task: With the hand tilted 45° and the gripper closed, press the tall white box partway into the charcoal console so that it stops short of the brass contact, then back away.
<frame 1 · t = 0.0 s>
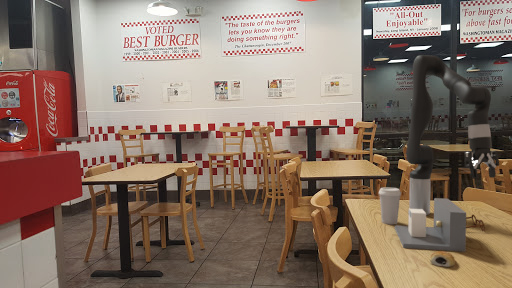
hand: (483, 178, 146), 22 cm above the table, tool pointing down, fingers open, 8 cm apart
glasses: (462, 228, 157), on the table
white box: (416, 222, 143), point 6 cm above the table, slide at 0.0 cm
console: (426, 239, 142), on the table
coffee cup: (389, 222, 166), on the table
pastry: (442, 263, 119), on the table
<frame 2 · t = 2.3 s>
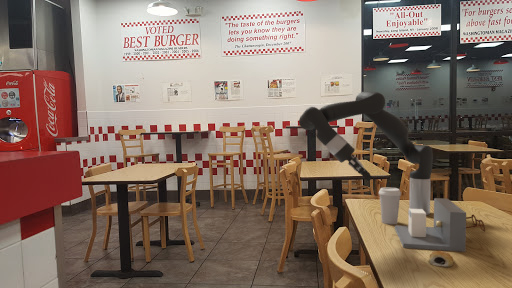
hand: (369, 177, 145), 23 cm above the table, tool tilted 45°, fingers open, 8 cm apart
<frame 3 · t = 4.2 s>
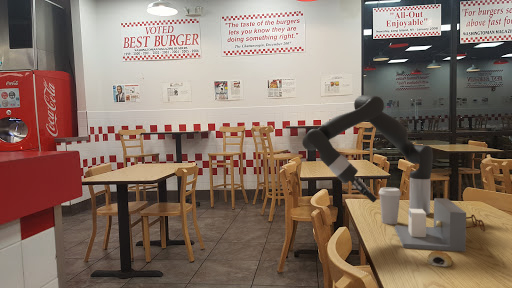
hand: (375, 200, 146), 14 cm above the table, tool tilted 45°, fingers closed
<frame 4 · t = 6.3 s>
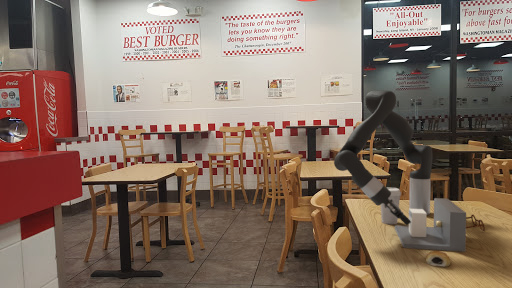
hand: (408, 223, 143), 6 cm above the table, tool tilted 45°, fingers closed
white box: (417, 222, 143), point 6 cm above the table, slide at 0.1 cm, touching gripper
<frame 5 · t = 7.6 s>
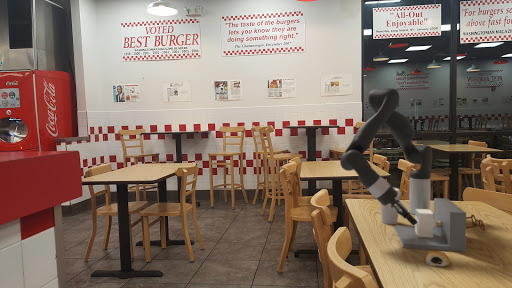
hand: (415, 223, 143), 6 cm above the table, tool tilted 45°, fingers closed
white box: (423, 222, 142), point 6 cm above the table, slide at 2.5 cm
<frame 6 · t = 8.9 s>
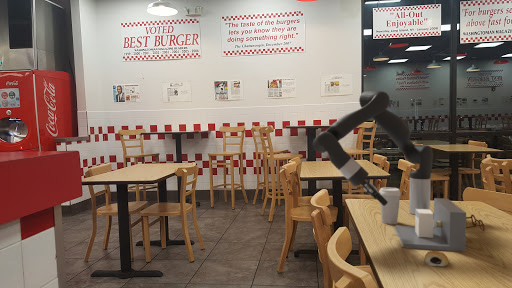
hand: (385, 203, 145), 13 cm above the table, tool tilted 45°, fingers closed
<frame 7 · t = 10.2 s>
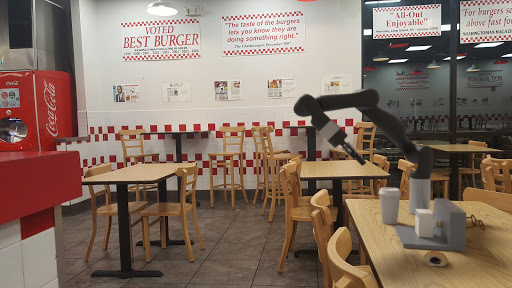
hand: (364, 164, 150), 28 cm above the table, tool tilted 45°, fingers closed
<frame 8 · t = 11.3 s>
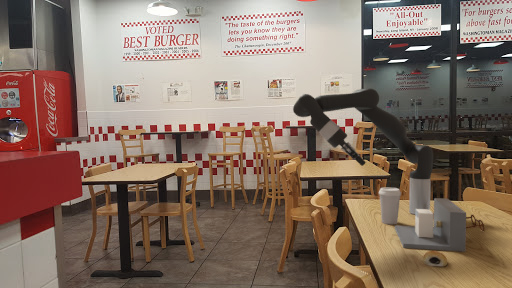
hand: (364, 164, 150), 28 cm above the table, tool tilted 45°, fingers closed
at the end: white box slide at 2.5 cm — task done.
